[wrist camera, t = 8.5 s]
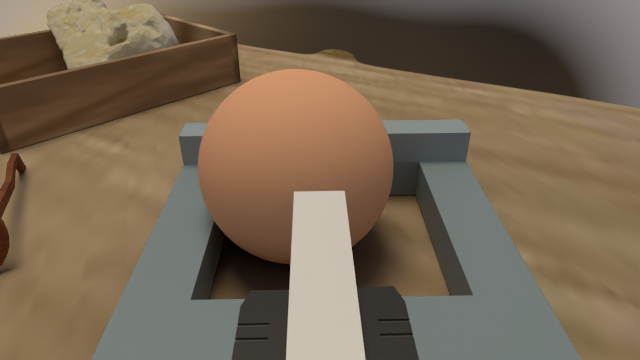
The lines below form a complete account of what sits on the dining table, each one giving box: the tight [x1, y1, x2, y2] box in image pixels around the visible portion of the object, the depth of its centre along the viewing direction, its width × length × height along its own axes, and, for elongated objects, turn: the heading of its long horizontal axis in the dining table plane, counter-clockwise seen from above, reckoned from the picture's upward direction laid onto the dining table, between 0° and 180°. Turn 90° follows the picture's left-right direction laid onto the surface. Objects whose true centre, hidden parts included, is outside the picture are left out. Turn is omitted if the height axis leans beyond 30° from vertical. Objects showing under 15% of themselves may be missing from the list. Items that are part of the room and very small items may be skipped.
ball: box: [198, 69, 394, 264], centre depth 25 cm, size 10×10×10 cm
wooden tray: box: [0, 14, 240, 153], centre depth 49 cm, size 16×23×5 cm
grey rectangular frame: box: [91, 120, 582, 360], centre depth 20 cm, size 30×18×4 cm, turn 1°
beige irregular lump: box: [47, 0, 180, 69], centre depth 50 cm, size 15×7×15 cm
